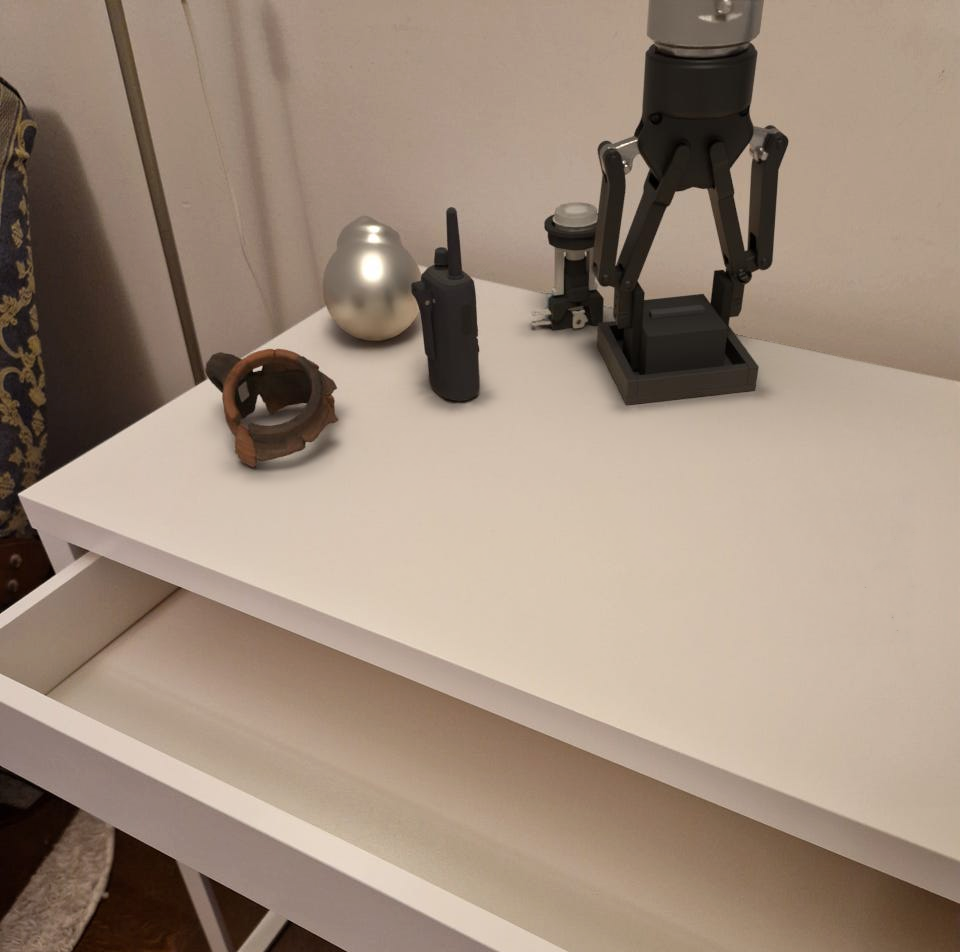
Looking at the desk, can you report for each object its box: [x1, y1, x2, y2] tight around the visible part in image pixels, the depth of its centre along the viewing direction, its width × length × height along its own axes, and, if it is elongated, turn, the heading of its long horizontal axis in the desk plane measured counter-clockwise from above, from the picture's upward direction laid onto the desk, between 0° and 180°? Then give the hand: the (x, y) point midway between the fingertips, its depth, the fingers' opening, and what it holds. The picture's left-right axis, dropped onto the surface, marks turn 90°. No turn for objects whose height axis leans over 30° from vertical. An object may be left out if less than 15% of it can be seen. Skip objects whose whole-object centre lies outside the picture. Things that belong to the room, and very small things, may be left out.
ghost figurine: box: [321, 215, 422, 342], centre depth 88 cm, size 9×10×10 cm
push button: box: [530, 201, 605, 331], centre depth 88 cm, size 7×5×10 cm
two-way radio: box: [411, 206, 481, 402], centre depth 78 cm, size 6×4×15 cm
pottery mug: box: [204, 348, 339, 468], centre depth 77 cm, size 12×9×8 cm
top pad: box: [638, 293, 728, 375], centre depth 82 cm, size 6×6×4 cm
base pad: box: [596, 320, 760, 406], centre depth 83 cm, size 11×11×2 cm
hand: (672, 357), depth 83 cm, fingers closed on top pad, 6 cm apart
